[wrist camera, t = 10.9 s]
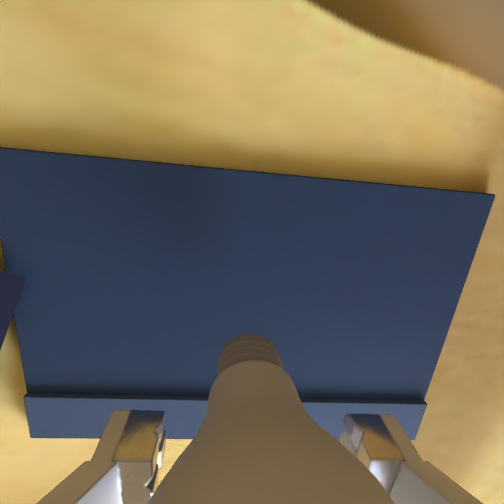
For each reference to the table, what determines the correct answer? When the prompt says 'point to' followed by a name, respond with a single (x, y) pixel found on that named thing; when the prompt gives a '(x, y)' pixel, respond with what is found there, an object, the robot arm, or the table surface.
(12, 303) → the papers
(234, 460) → the lightbulb
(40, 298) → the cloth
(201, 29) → the table surface
